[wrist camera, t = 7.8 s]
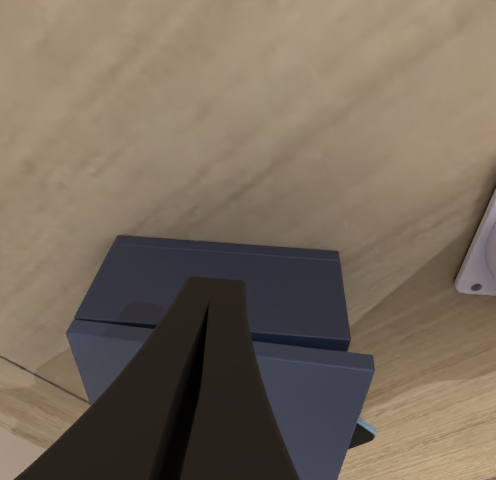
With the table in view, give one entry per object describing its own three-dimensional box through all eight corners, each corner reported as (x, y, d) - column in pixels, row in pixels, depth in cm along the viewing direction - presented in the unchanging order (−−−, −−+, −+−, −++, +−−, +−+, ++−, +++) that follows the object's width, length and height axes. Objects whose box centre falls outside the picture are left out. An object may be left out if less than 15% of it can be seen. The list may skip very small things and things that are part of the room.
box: (338, 250, 22) (351, 339, 18) (305, 415, 32) (307, 500, 27) (117, 234, 23) (73, 317, 18) (149, 401, 32) (126, 483, 28)
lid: (373, 354, 17) (375, 371, 17) (321, 513, 27) (321, 527, 26) (73, 318, 18) (64, 333, 18) (126, 483, 28) (121, 497, 27)
